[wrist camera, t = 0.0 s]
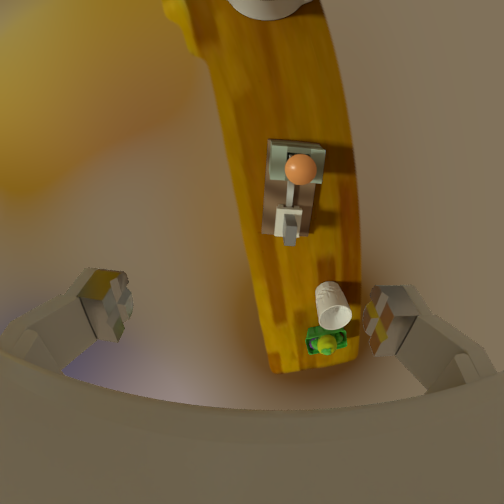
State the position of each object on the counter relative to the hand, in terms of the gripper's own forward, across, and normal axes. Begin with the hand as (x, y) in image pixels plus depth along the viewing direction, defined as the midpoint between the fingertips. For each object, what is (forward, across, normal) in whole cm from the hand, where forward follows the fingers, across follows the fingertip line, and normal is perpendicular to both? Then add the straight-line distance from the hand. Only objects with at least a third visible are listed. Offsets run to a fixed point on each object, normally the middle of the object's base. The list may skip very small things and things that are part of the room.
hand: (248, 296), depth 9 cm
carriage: (+46, -7, +17) cm, 50 cm away
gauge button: (+40, -7, +4) cm, 41 cm away
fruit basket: (+48, -22, +51) cm, 74 cm away
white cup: (+48, -20, +37) cm, 64 cm away
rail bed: (+48, -7, +11) cm, 50 cm away
